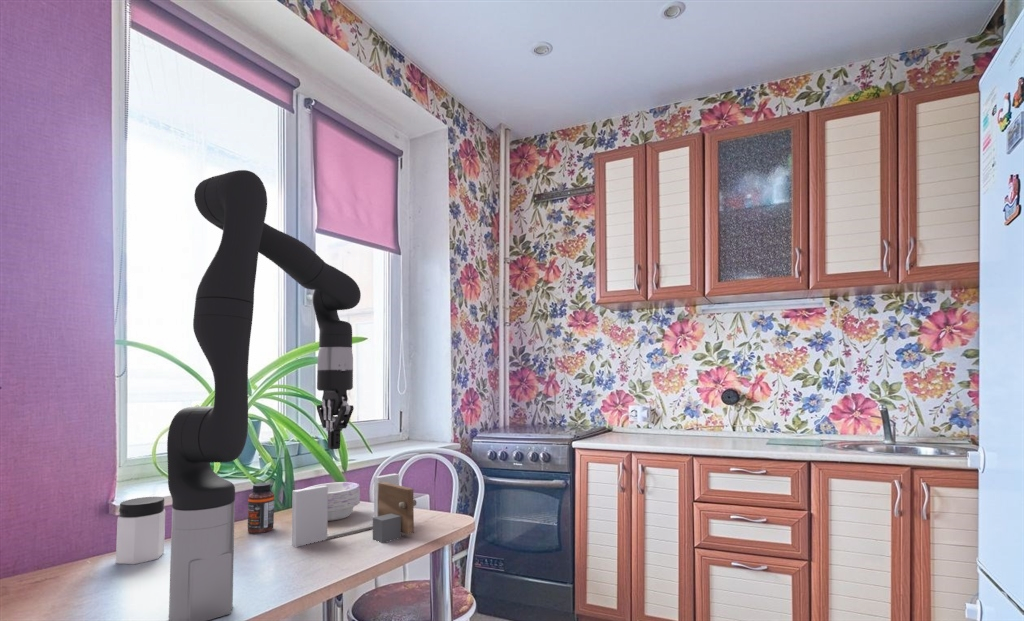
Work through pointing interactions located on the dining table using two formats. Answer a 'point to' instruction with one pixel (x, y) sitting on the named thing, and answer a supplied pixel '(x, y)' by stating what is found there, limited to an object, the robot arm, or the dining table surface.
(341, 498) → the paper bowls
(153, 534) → the jar
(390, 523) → the block
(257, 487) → the supplement bottle
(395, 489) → the door
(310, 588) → the dining table surface
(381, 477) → the wall frame
